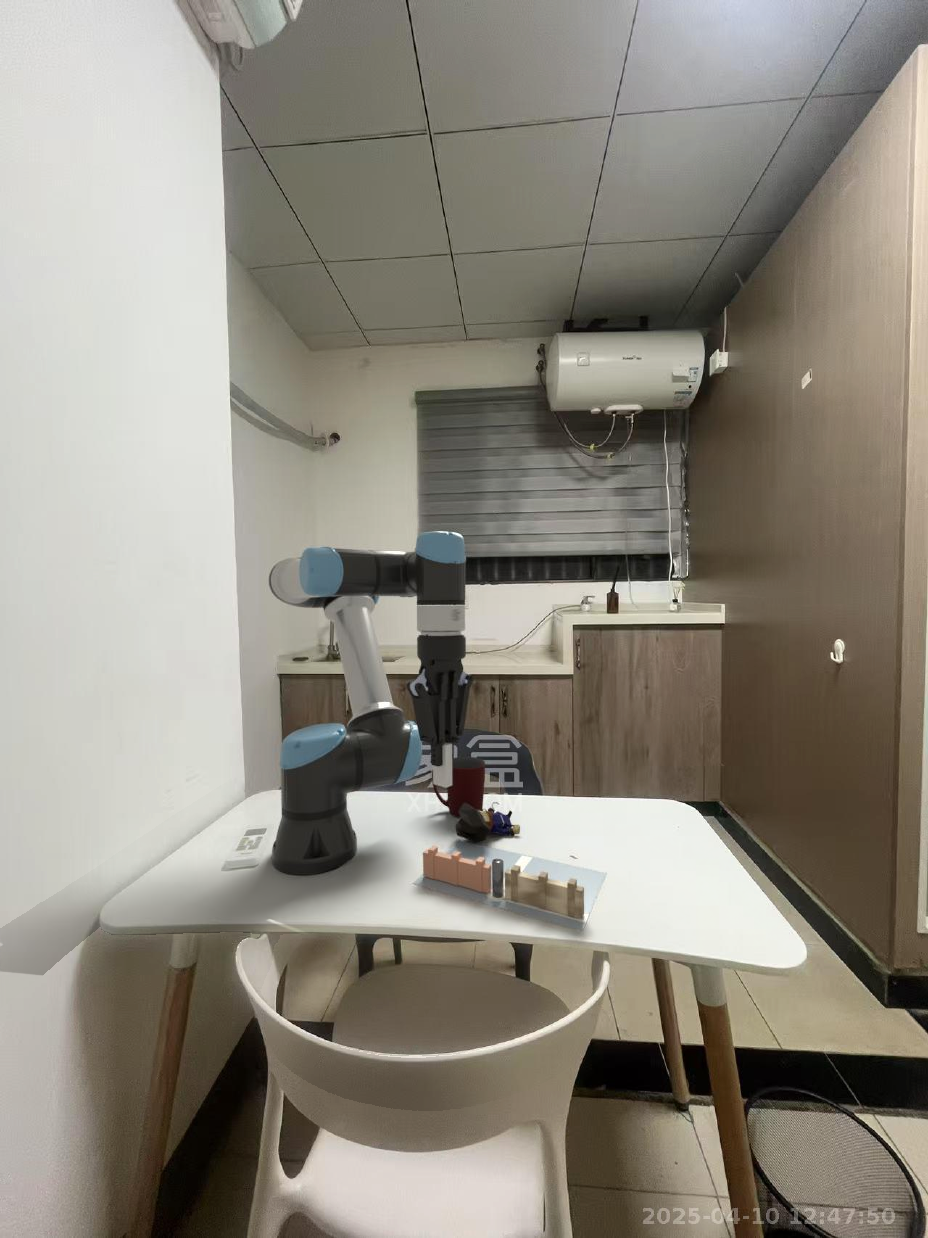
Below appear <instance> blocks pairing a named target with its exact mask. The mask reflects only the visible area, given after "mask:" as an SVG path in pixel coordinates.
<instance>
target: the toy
mask: <svg viewBox="0 0 928 1238" xmlns="http://www.w3.org/2000/svg"><path fill="white" fill-rule="evenodd" d="M494 804H497V805H500V803H499V802H497V801H494V802H492V804H491V807H489V808H488V809H487V810H486V809H485V808H483V809H474V808H473V807H471V806H470V805H468V804H466V803H463V805H462V806H461V808H460V809H459V811H458V813H459V815H460V818H459V819H458V821H456V823H455V831H456V832H455V833H456V836H458V837H460V838H463V839H465V840H467V841H468V842H470V843H475V844H479V843H481V842H485V841H486V839H487V838H488V836H489V835H490V833H491V834H492V833H497V834H500V835H505V836H511V837H515V836H516V835H520V832H521V825H520V824H512V822H511V821H512V820H511V818H512V814H513V811H512V810H509V811H508V813H507V814H504V813H503V812H500V811H496V812H495V810H496V809H495V808H494Z"/></svg>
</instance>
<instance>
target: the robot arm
mask: <svg viewBox="0 0 928 1238" xmlns="http://www.w3.org/2000/svg"><path fill="white" fill-rule="evenodd" d="M415 542H416V543H415V547H414V551H398V550H397V551H395V550H377V549H376V550H373V549H372V550H371V549H367V550H366V549H352V548H338V547H331V546H321V547H308V548H306V549H305V550H303V552H302V554H301V557H291V558H289V557H288V558H285V559H283V560H281V561H279V562H277V563H276V564H275V565H274V566H273V567H272V568H271V570H270V572H269V575H268V587H269V589H270V591H271V594H273V596H274V597H275V598H276V600H277V599H278V600H279V601H281V602H282V603H285V604H287V605H289V606H293V607H298V608H307V609H308V608H309V609H310V608H311V609H323V614H324V616H325V618H326V620H328V621H329V622H332V623H333V626H334V632H335V636H336V642H337V645H338V651H339V656H340V660H341V665H342V669H343V674H344V680H345V684H346V689H347V695H348V698H349V704H350V708H351V713H352V717H351V718H350V720H349V721H348V723H347V728H346V726H345V725H344V724H343V723H340V722H330V723H319V724H314V725H310V726H305V727H302V728H300V729H298V730H294V731H292V732H291V733H290V734H288V735H287V736H286V737H285V738H284V739H283V740H282V743H281V746H280V759H279V765H278V766H279V768H280V790H281V791H280V793H281V794H280V796H281V797H280V799H281V804H280V805H281V818H280V822H279V825H278V828H277V833H276V836H275V837H276V838H275V841H274V842H273V845H272V848H271V862H272V865H273V867H274V868H275V869H276V870H278V871H280V872H283V873H285V874H290V875H300V876H301V875H302V876H303V875H313V874H314V875H315V874H319V873H324V872H329V871H331V870H335V869H336V868H337V869H338V868H339V867H341V866H344V865H345V864H347V863H348V862H350V861H351V860H352V859H353V858H354V856H355V855H356V854H357V853H358V852H357V851H358V839H357V833H356V831H355V830H354V829H353V825H352V821H351V818H350V815H349V811H348V806H347V804H348V800H347V799H348V798H347V797H348V794H350V793H354V792H360V791H364V790H369V789H370V790H371V789H375V788H380V787H383V786H385V787H386V786H390V785H393V786H395V785H397V784H398V783H402V782H405V781H409V780H411V779H413V778H414V777H415V775H417V773H418V771H419V769H420V766H421V763H422V762H421V760H422V755H423V743H426V744H429V745H430V764H431V765H432V770H433V783H432V785H433V784H435V785H436V786H439V787H442V788H444V789H445V788H446V789H447V787H449V786H452V762H453V760H454V758H455V755H454V754H455V744H459V742H460V741H461V740H460V739H461V738H459V736H463V734H464V731H465V724H466V717H467V712H468V703H469V698H470V689H471V688H472V684H473V682H474V679H475V677H474V675H473V674H469V673H467V672H465V670H464V665H463V662H462V660H463V659H465V658H466V655H467V653H466V651H467V648H466V647H467V643H466V642H467V640H466V639H467V638H466V637H467V636H465V634H462V632H464V631H465V630H466V572H467V571H466V562H467V557H466V553H465V549H466V548H465V539H464V536H462V535H461V534H460V533H457V532H453V531H426V532H422V533H419V534H418V536H417V538H416V541H415ZM380 597H399V598H414V597H416V630H417V631H418V632H420V634H419V635H418V636H417V638H416V644H417V645H416V649H417V652H416V654H417V656H416V657H417V658H418V659H419V660H420V667H419V669H418V677H417V678H416V679H415V680H414V681H408V682H407V683H406V689H407V691H408V693H409V695H410V696H411V700H412V705H413V710H414V715H415V721H412V720H406V718H405V715H404V711H403V709H401V708H399V707H398V706H395V704H394V702H393V698H392V693H391V690H390V684H389V682H388V681H389V680H388V678H387V673H386V670H385V666H384V661H383V658H382V653H381V651H380V647H379V643H378V642H379V641H378V637H377V634H376V630H375V626H374V622H373V618H372V613H373V611H375V608H376V605H377V603H378V601H379V599H380Z"/></svg>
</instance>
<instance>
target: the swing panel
mask: <svg viewBox="0 0 928 1238" xmlns="http://www.w3.org/2000/svg"><path fill="white" fill-rule="evenodd" d="M438 848H439V846H436V845H431V846H430V847H429V848H428V849H425V850H424V851H423V852H422V868H423V869H422V872H423V873H422V874H423V876H425V877H428V878H431V879H437V880H440V881H444V882H448V883H451V884H453V885H459V886H463V887H466V888H470V889H474V890H476V891H479V892H485V893H489V892H490V891H491V865H490V864H486V863H485V858H483V857H479V858H478V859H477V860H476V861H473V860H469V859H465V858H461V852H458V851H455V852H454V853H453V854H452V855H448V854H445V852H444V853H443V852H439V849H438Z"/></svg>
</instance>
